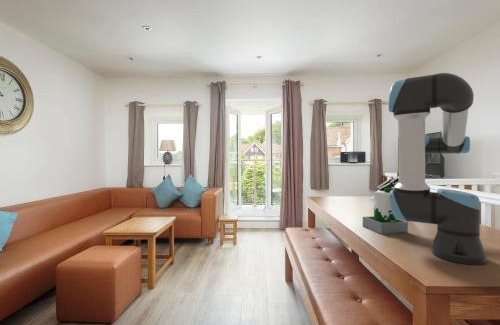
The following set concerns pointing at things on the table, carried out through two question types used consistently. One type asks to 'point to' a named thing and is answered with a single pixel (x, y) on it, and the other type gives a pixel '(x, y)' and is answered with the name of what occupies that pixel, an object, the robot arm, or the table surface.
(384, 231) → the tray
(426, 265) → the table surface
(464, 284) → the table surface
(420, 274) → the table surface
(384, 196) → the soya milk
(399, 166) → the robot arm
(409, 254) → the table surface
